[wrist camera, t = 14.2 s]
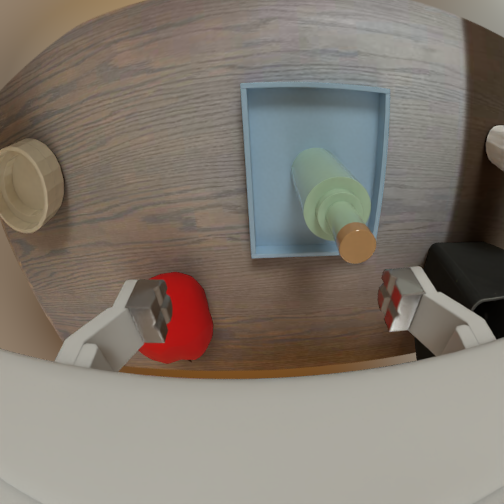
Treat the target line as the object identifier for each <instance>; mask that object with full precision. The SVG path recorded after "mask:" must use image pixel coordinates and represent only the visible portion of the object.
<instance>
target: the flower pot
mask: <svg viewBox="0 0 504 504" xmlns="http://www.w3.org/2000/svg"><path fill="white" fill-rule="evenodd" d="M424 272H425V274H426V275H427V277H428V278H429V280H430V281H431V283H432V284H433V286H434V288H435V289H436V291H437V292H442V293H443V294H445V295H446V296H448V297H450V298H451V299H453V300H455V301H456V302H458V303H460V304H461V305H463V306H464V307H466V308H467V309H469V310H471V311H472V312H474V313H475V314H477V315H479V316H480V317H482V318H483V319H484V320H485V321H486V323H487V325H488V326H489V328H490V330H491V331H492V333H493V335H494V336H495V338H496V340H497V339H500V338H503V337H504V250H503V249H501V248H499V247H496V246H494V245H491V244H488V243H485V242H458V243H435V244H433V245H432V246H431V248H430V250H429V254H428V257H427V261H426V264H425V267H424ZM415 348H416V358H417V360H422V359H427V358H431V357H436V356H435V355H434V354H433V353H432V352H431V351H430V350H429V349H428V348H427V347H426V346H424V345H423V344H422V343H421V342H420V341H419V340H418V339H417V338H416V337H415Z"/></svg>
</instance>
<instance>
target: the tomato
mask: <svg viewBox="0 0 504 504" xmlns="http://www.w3.org/2000/svg"><path fill="white" fill-rule="evenodd" d="M150 279H156V280H164V281H165V282H166V285H167V291H166V294H167V295H168V296H170V298H171V301H172V307H173V311H172V318H171V321H170V322H169V323H168V324H167V328H168V333H167V336H166V340H165V343H144V345H143V346H142V347H141V348H140V349H139V351H140V352H141V353H142V354H143V355H145V356H147V357H148V358H150V359H152V360H155V361H159V362H162V363H166V364H168V363H172V362H175V361H178V360H181V359H183V360H189V361H191V360H196V359H197V358H199V357H200V356H201V355H202V354H203V353H204V352H205V351H206V349H207V347H208V345H209V343H210V341H211V338H212V336H213V322H212V317H211V315H210V312H209V308H208V302H207V299H206V295H205V292H204V289H203V288H202V287H201V285H200V284H199V283H198V282H197V281H196V280H195V279H194V278H193V277H192V276H189V275H186V274H183V273H179V272H171V273H164V274H160V275H157V276H155V277H153V278H150Z"/></svg>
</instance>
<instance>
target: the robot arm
mask: <svg viewBox="0 0 504 504" xmlns="http://www.w3.org/2000/svg"><path fill="white" fill-rule="evenodd" d="M382 280H383V282H384V283H383V284H382V285H381V286H380V287H379V290H378V305H379V308H380V311H381V312H383V313H384V314H386V315H385V318H384V320H385V323H386V325H387V328H388V330H389V332H395V331H404V330H409V332H410V333H411V334H412V335H414V336H415V337H416V338H417V339H418V340H419V341H420V342H421V343H422V344H423V345H424V346H426V347H427V348H428V349H429V350H430V351H431V352H432V353H433V354H434V355H435V356H436V357H431V358H427V359H422V360H417V361H412V362H407V363H402V364H397V365H391V366H385V367H379V368H372V369H366V370H358V371H351V372H343V373H334V374H324V375H313V376H302V377H286V378H263V379H200V378H199V379H198V378H177V377H162V376H150V375H139V374H129V373H121V372H118V371H119V370H120V369H121V368H122V367H123V366H124V365H125V364H126V363H127V361H128V360H129V359H130V358H131V357H132V356H133V355H134V354H135V353H136V352H137V351H138V350H139V349H140V348H141V347H142V346H143V345H144V343H165V340H166V336H167V333H168V328H167V324H168V323H169V322H170V321H171V318H172V311H173V307H172V301H171V298H170V296H168V295H167V294H166V291H167V285H166V282H165V281H164V280H156V279H139V280H127V281H125V283H124V285H123V287H122V289H121V291H120V293H119V295H118V297H117V299H116V300H115V302H114V304H113V307H112V308H107V309H106V310H105V311H103V312H102V313H101V314H99V315H98V316H96V317H95V318H94V319H92V320H91V321H90V322H88V323H87V324H85V325H84V326H83V327H81V328H80V329H79V330H77V331H76V332H75V333H73V334H72V335H71V336H69V337H68V338H67V339H65V341H64V343H63V345H62V347H61V349H60V351H59V353H58V355H57V357H56V359H55V361H54V362H53V361H48V360H44V359H39V358H35V357H30V356H27V355H23V354H19V353H15V352H11V351H8V350H4V349H1V348H0V504H504V337H503V338H500V339H497V340H496V338H495V336H494V335H493V333H492V331H491V330H490V328H489V326H488V325H487V323H486V321H485V320H484V319H483V318H482V317H480V316H479V315H477V314H475V313H474V312H472V311H471V310H469V309H467V308H466V307H464V306H463V305H461V304H460V303H458V302H456V301H455V300H453V299H451V298H450V297H448V296H446V295H445V294H443V293H442V292H437V291H436V289H435V288H434V286H433V284H432V283H431V281H430V280H429V278H428V277H427V275H426V274H425V272H424V271H423V269H422V268H421V267H420V266H414V267H407V268H396V269H385V270H384V272H383V274H382Z"/></svg>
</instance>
